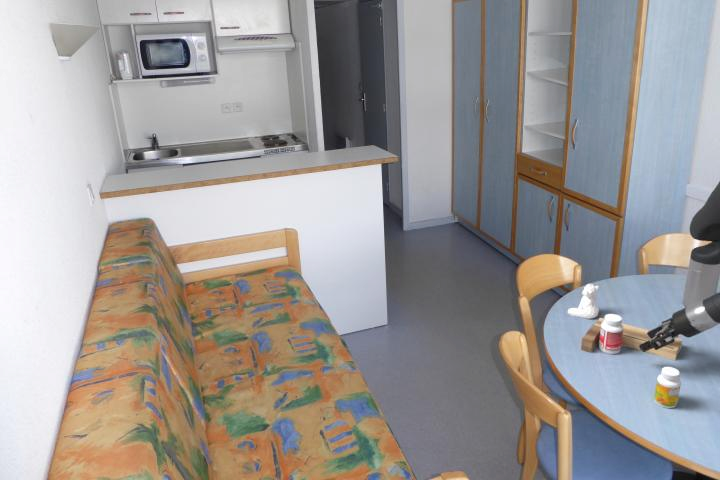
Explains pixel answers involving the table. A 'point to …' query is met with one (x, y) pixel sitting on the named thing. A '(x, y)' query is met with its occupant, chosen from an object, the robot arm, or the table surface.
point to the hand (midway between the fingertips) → (645, 342)
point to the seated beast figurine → (586, 304)
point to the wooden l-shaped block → (630, 340)
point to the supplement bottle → (667, 388)
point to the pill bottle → (611, 334)
